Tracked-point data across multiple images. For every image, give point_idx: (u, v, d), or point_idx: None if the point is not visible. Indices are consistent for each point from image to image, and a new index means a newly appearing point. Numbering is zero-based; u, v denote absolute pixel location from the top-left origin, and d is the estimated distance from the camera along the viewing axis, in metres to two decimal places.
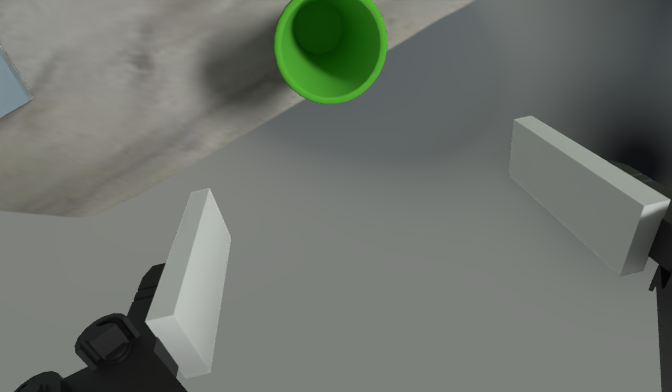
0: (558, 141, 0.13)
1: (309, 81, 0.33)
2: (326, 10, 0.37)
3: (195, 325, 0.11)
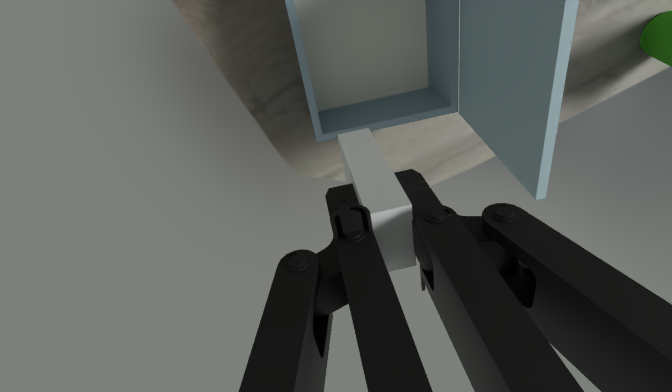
0: (370, 152, 0.15)
1: None
2: None
3: None
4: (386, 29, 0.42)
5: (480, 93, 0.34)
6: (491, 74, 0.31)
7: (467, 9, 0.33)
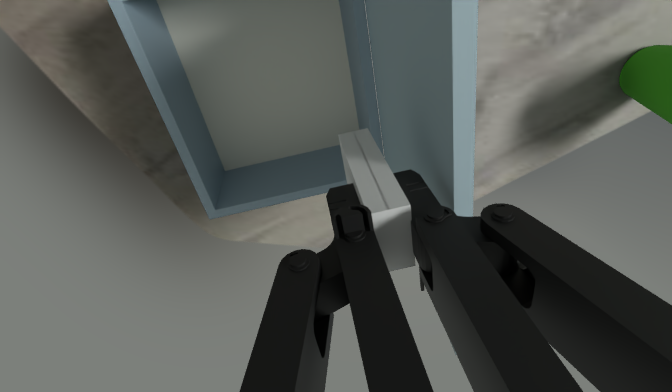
0: (369, 152, 0.15)
1: None
2: None
3: None
4: (299, 75, 0.34)
5: None
6: (402, 157, 0.22)
7: (376, 63, 0.25)
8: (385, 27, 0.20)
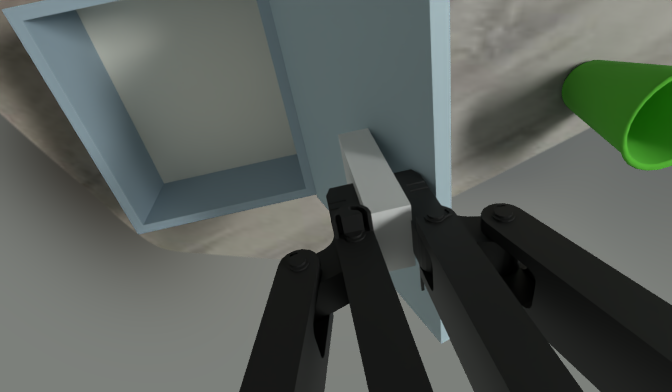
0: (370, 152, 0.15)
1: None
2: None
3: None
4: (232, 89, 0.34)
5: (336, 184, 0.26)
6: None
7: (296, 80, 0.25)
8: (312, 41, 0.20)
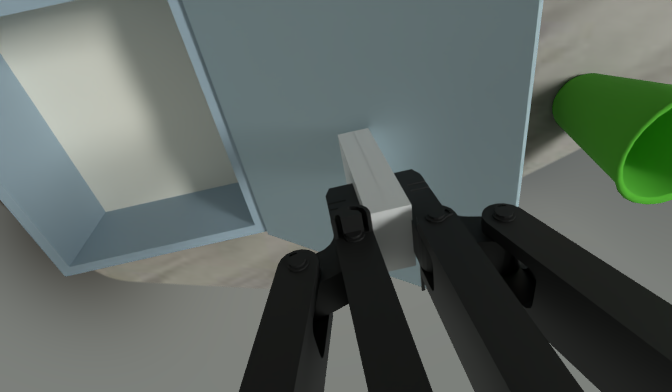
0: (370, 152, 0.15)
1: None
2: None
3: None
4: (174, 109, 0.30)
5: (316, 206, 0.23)
6: (340, 181, 0.21)
7: (241, 103, 0.22)
8: (290, 48, 0.17)
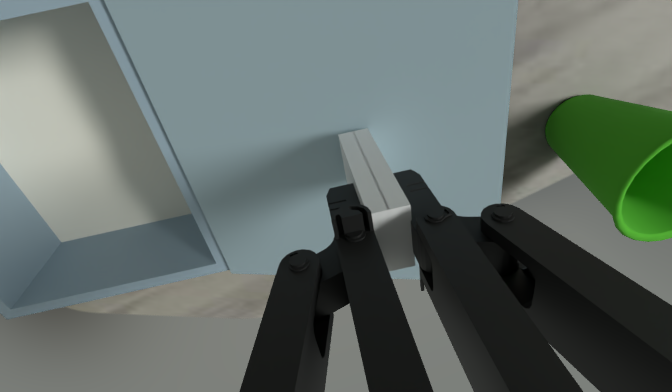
0: (369, 152, 0.15)
1: None
2: None
3: None
4: (131, 134, 0.27)
5: (294, 226, 0.22)
6: (323, 193, 0.20)
7: (198, 131, 0.20)
8: (264, 62, 0.17)
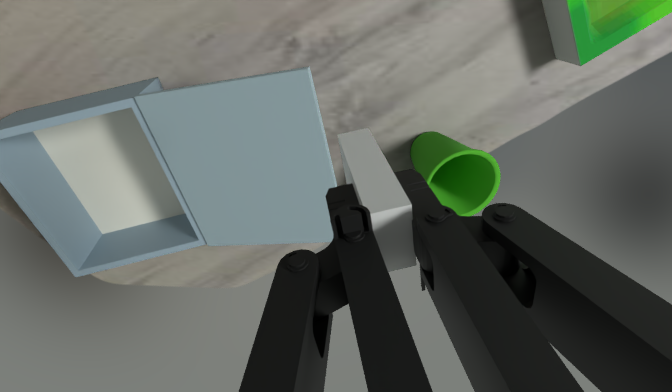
0: (370, 152, 0.15)
1: None
2: None
3: None
4: (147, 165, 0.46)
5: (240, 215, 0.40)
6: (252, 195, 0.38)
7: (185, 165, 0.38)
8: (215, 133, 0.35)
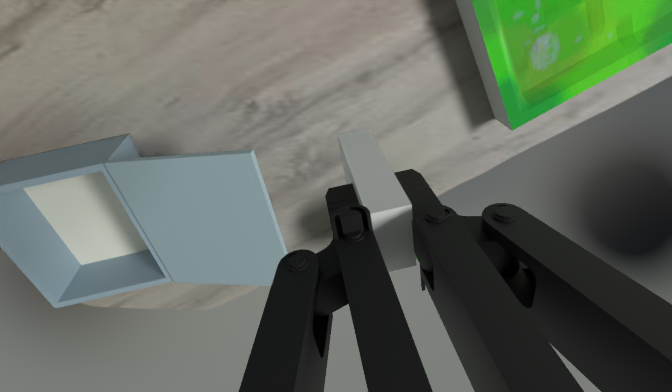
0: (370, 152, 0.15)
1: None
2: None
3: None
4: (121, 207, 0.51)
5: (200, 260, 0.45)
6: (210, 245, 0.44)
7: (151, 218, 0.43)
8: (175, 195, 0.40)
